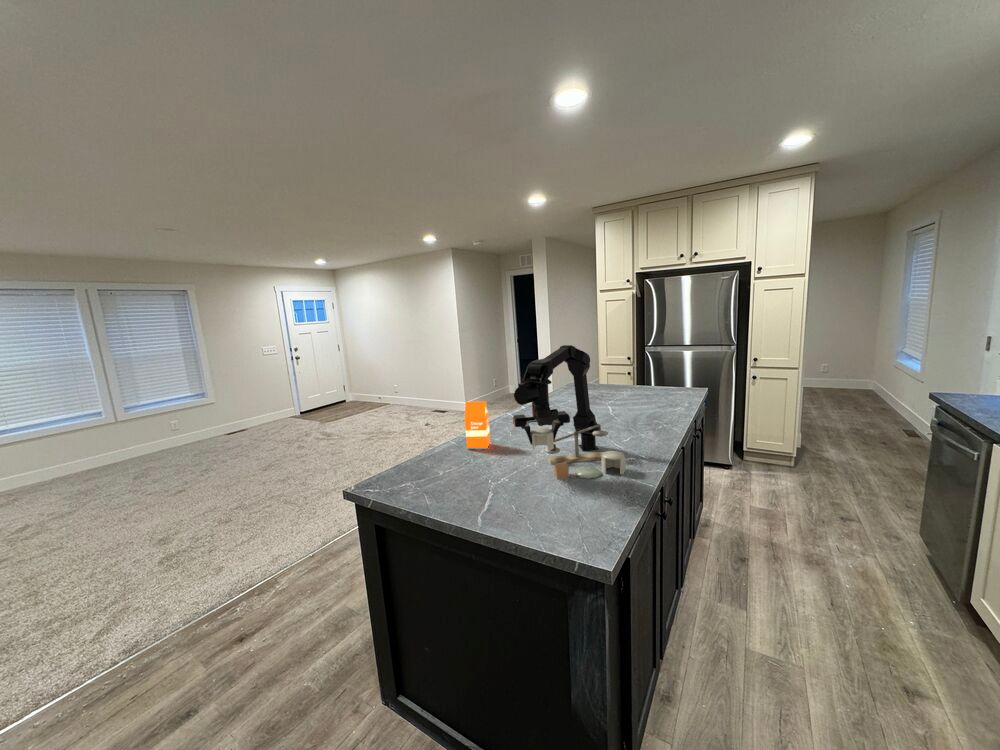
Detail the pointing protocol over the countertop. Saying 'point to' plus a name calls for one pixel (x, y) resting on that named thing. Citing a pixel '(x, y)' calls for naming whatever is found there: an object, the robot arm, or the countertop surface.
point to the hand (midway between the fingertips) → (542, 443)
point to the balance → (576, 449)
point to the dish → (587, 472)
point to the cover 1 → (542, 438)
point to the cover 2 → (613, 460)
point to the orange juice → (477, 425)
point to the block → (561, 470)
